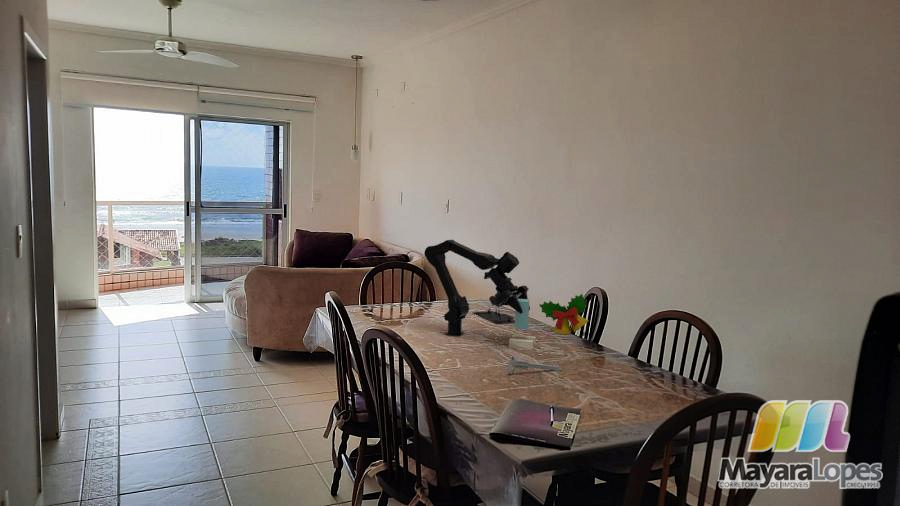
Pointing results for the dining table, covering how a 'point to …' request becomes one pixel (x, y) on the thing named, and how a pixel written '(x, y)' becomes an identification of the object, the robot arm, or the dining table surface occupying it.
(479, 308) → the dining table surface
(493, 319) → the circuit board
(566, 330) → the ornament
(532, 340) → the birch block
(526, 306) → the teal block
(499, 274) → the robot arm
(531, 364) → the caliper
